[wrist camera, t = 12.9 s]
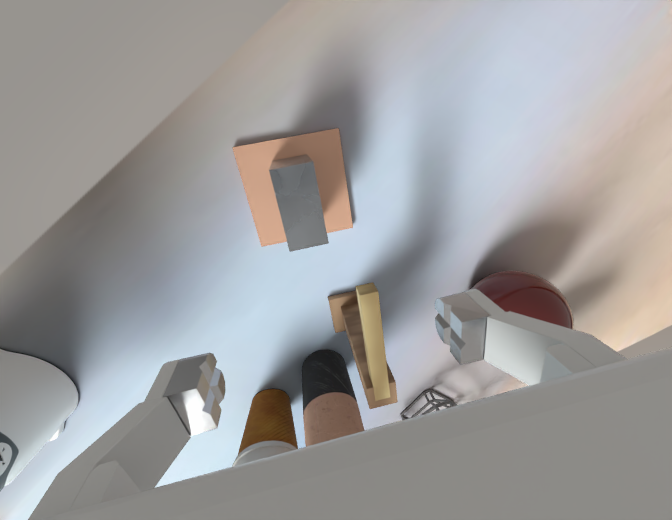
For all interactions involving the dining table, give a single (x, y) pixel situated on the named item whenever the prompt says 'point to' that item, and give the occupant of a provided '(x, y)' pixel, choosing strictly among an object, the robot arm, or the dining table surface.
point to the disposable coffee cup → (267, 427)
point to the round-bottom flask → (527, 296)
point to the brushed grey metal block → (299, 201)
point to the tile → (328, 174)
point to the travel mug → (328, 398)
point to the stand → (365, 341)
